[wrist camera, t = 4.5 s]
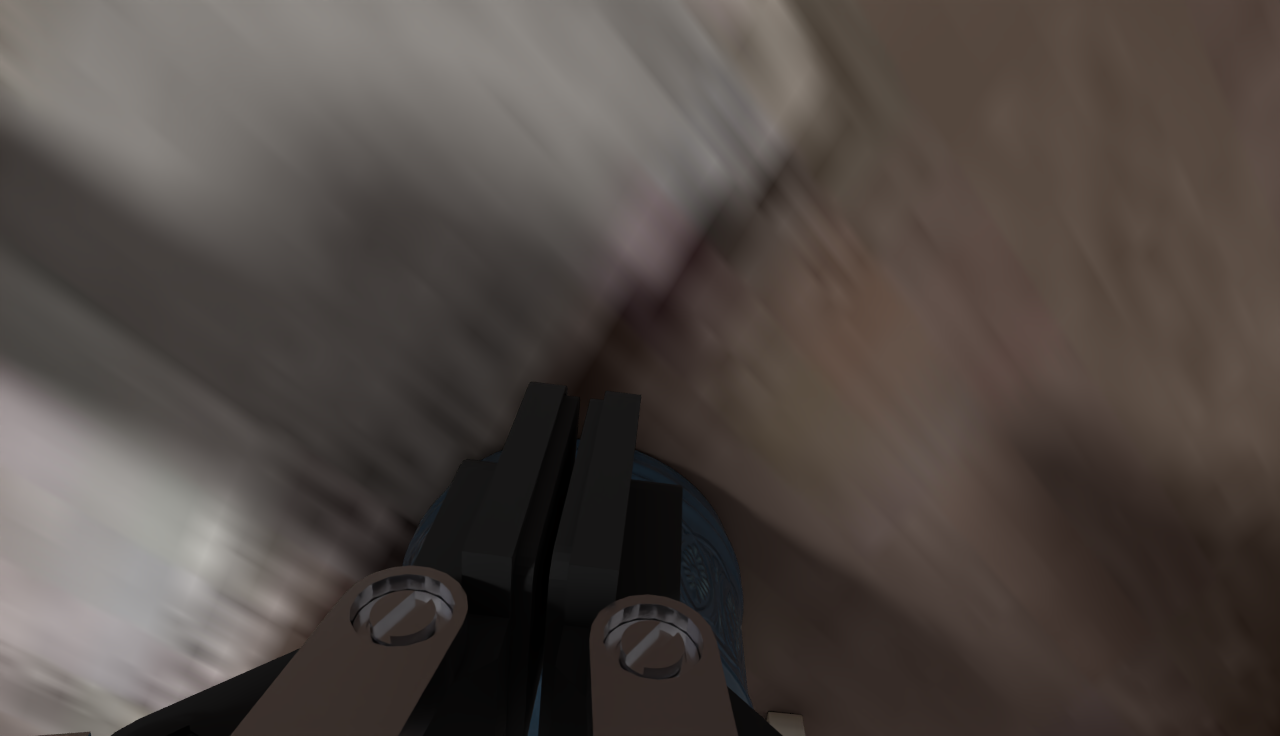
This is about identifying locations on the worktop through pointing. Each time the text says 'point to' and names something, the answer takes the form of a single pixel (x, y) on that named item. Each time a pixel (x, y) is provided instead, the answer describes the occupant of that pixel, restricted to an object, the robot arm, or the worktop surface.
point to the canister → (703, 570)
